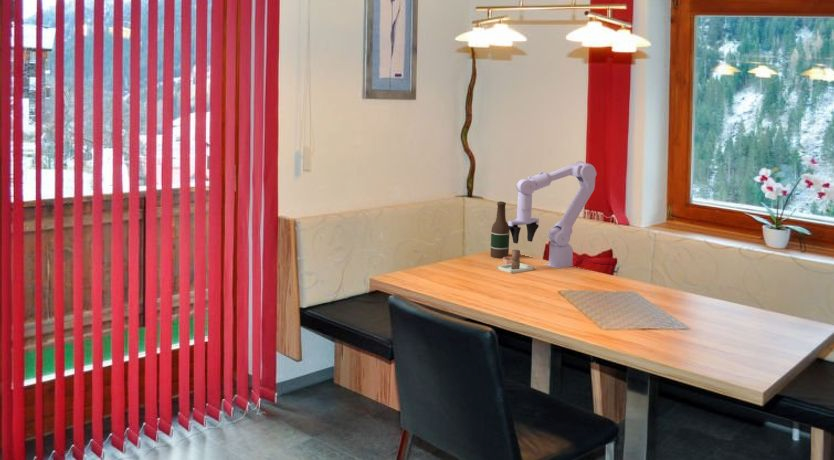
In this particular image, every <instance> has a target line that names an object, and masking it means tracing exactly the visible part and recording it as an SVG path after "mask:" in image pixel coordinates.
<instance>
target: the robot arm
mask: <svg viewBox="0 0 834 460" xmlns="http://www.w3.org/2000/svg"><path fill="white" fill-rule="evenodd" d="M597 175H598V173H597V170H596V168H595V167H594V165H592V163H587V162H585V161H582V160H581V161H580V160H579V161H577V162H572V163H570V164H568V165H565V166H563V167H561V168H558V169H556V170H554V171H552V172H549V173H548V172H545V171H539V172H538V173H537V174H536V175H533V176H529V175H528V176H527V179H526V178H521V179H520V180H519V181H518V182H517V184H516V186H515V187H516V191H517V204H516V205H517V206H516V208H517V209H516V218H515V219H512V220H508V222H507V223H508V228H509V232H510V233H511V238H512V243H513V244H518V243H519V238H520V232H521V228H522V227H520V226H524V225H526V231H527V232H526V233H527V236H526V239H527V242H533V239H534V236H535V233H536V232H537V229H538V228H539V227H540V226H539V224H540V223H539V222H540V219H539V218H537V217H532V206H533V193H534V192H535V191H538V190H540V189H544V188H546V187H549V186H550V185H551V183H552V182H553V181H556V180H560V179H563V178H566V177H568V176H573V177H576V178H577V182H578V184H579V188H578V191H577V192H576V194H575V195H574V197H573V199H572V201H571V202H570V203H569V205H568V207H567V209H566V210H565V212H564V214H563V215H562V216H561V219H560V220H558V221H557V222H556V223H555V225H553V227H551V228H550V229H549V230H548V233H547V237H548V239H549V240H550V242H549V250H548V251H549V253H548V254H549V255H548V263H544V265H545V266H549V267H552V268H555V269H560V268H561V269H562V268H568V267H573V266H574V264H573V259H574V255H573V254H574V250H573V247H572V245H571V244H569V242H570V241H571V235H572V233H573V227H574V224H575V223H576V220H577V219H578V218H579V216H580V214H581V213H582V211H583V209H584V207H586V204H587V202H588V200H589V199H590V197H591V196H592V194H593V192H594V191H595V188H596V187H595V186H596V176H597Z"/></svg>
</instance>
